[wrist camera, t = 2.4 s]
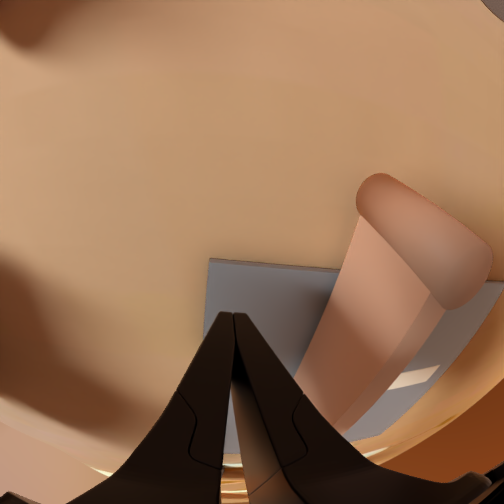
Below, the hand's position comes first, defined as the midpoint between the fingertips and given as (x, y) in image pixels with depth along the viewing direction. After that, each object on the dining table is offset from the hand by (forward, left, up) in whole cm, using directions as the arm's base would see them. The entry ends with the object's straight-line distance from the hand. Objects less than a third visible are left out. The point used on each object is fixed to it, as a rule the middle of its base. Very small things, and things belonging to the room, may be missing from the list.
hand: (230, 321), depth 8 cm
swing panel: (-2, -5, -3) cm, 6 cm away
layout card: (-12, -10, -4) cm, 16 cm away
